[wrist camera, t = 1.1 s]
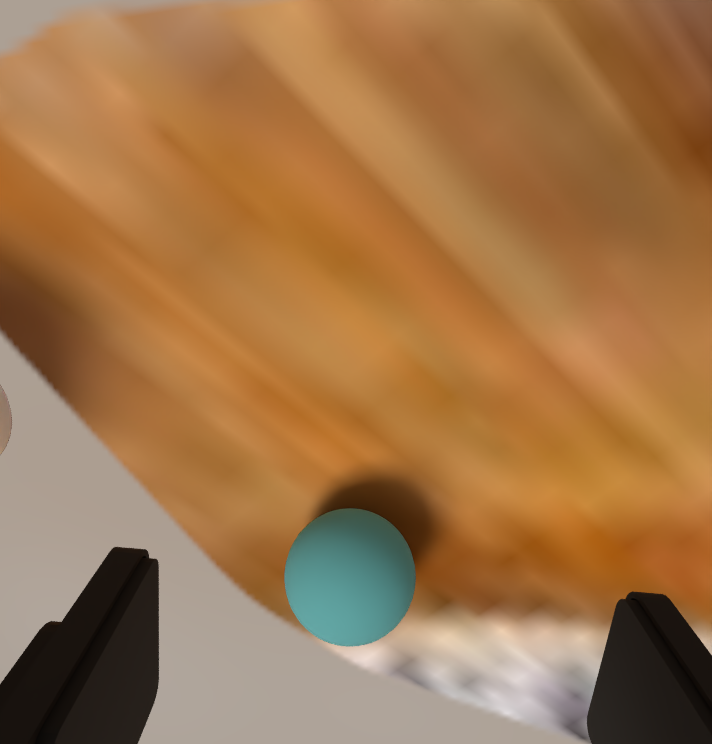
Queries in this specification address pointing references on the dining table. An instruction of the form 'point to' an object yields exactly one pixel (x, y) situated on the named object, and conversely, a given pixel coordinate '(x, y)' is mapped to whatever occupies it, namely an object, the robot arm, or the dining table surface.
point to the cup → (4, 420)
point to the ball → (350, 577)
